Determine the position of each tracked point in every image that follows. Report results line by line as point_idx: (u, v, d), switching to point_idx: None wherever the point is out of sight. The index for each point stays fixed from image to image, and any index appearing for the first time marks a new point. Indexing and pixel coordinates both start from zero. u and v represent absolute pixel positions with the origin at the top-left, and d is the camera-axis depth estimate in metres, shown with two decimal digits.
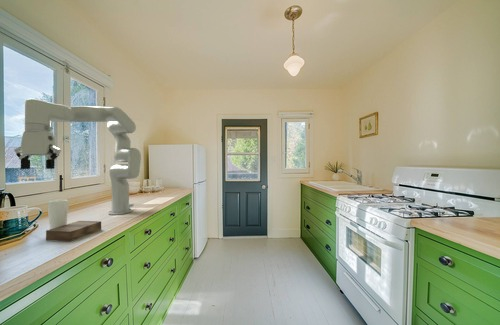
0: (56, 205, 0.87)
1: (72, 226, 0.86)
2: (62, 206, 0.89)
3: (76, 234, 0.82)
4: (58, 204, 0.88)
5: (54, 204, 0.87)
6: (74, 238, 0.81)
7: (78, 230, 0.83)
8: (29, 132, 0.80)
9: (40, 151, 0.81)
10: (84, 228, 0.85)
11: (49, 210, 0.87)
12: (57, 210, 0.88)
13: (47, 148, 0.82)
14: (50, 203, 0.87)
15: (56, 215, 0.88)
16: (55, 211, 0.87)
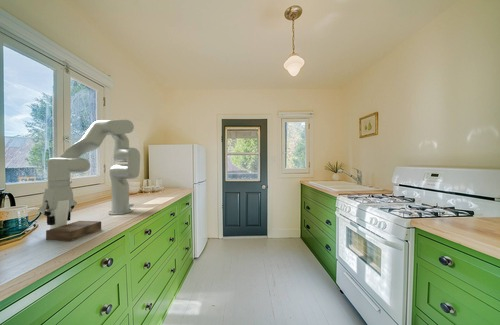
0: (57, 204, 0.88)
1: (72, 226, 0.86)
2: (63, 206, 0.89)
3: (76, 234, 0.82)
4: (59, 203, 0.88)
5: None
6: (74, 238, 0.81)
7: (78, 230, 0.83)
8: (61, 188, 0.89)
9: (69, 203, 0.93)
10: (84, 228, 0.85)
11: None
12: (58, 210, 0.88)
13: None
14: None
15: (57, 215, 0.88)
16: (56, 210, 0.88)
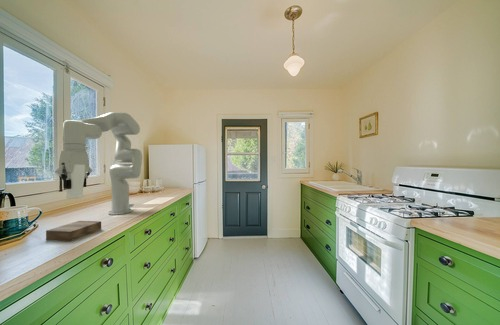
0: None
1: (72, 226, 0.86)
2: (79, 170, 0.86)
3: (76, 234, 0.82)
4: (76, 167, 0.85)
5: None
6: (74, 238, 0.81)
7: (78, 230, 0.83)
8: (77, 152, 0.86)
9: (85, 169, 0.90)
10: (84, 228, 0.85)
11: None
12: (74, 173, 0.85)
13: None
14: None
15: (73, 178, 0.85)
16: (72, 174, 0.85)
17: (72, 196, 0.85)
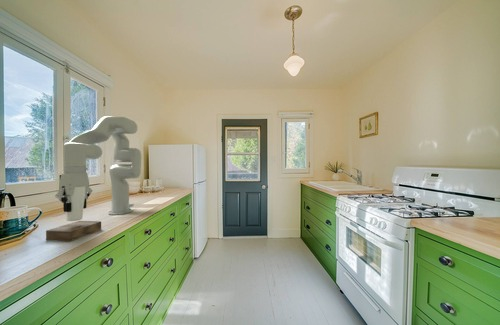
0: None
1: (72, 226, 0.86)
2: (80, 192, 0.86)
3: (76, 234, 0.82)
4: (76, 190, 0.85)
5: None
6: (74, 238, 0.81)
7: (78, 230, 0.83)
8: (77, 174, 0.86)
9: (85, 191, 0.90)
10: (84, 228, 0.85)
11: None
12: (75, 196, 0.85)
13: None
14: None
15: (73, 201, 0.85)
16: (73, 197, 0.84)
17: (72, 219, 0.85)
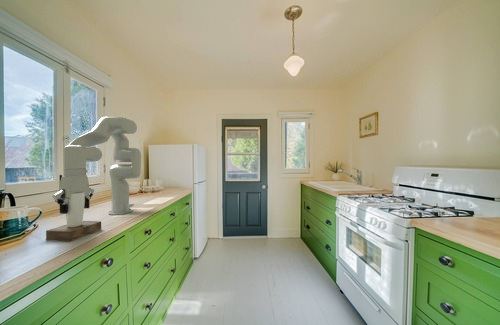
0: (73, 197, 0.84)
1: None
2: (79, 199, 0.86)
3: (76, 234, 0.82)
4: (75, 196, 0.84)
5: (71, 196, 0.84)
6: (74, 238, 0.81)
7: (78, 230, 0.83)
8: (77, 177, 0.86)
9: (85, 193, 0.90)
10: (84, 228, 0.85)
11: None
12: (74, 203, 0.84)
13: None
14: None
15: (73, 208, 0.84)
16: (72, 204, 0.84)
17: (72, 225, 0.84)
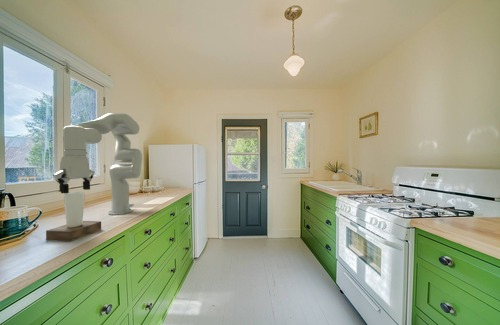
0: (73, 197, 0.84)
1: None
2: (79, 199, 0.86)
3: (76, 234, 0.82)
4: (75, 196, 0.84)
5: (71, 196, 0.84)
6: (74, 238, 0.81)
7: (78, 230, 0.83)
8: (77, 157, 0.86)
9: (86, 174, 0.90)
10: (84, 228, 0.85)
11: (66, 203, 0.83)
12: (74, 203, 0.84)
13: None
14: (67, 195, 0.83)
15: (73, 208, 0.84)
16: (72, 204, 0.84)
17: (72, 225, 0.84)
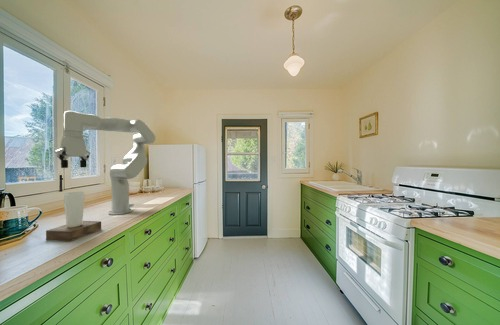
0: (72, 197, 0.84)
1: None
2: (79, 199, 0.85)
3: (76, 234, 0.82)
4: (75, 196, 0.84)
5: (71, 196, 0.84)
6: (74, 238, 0.81)
7: (78, 230, 0.83)
8: (76, 138, 1.01)
9: (83, 153, 1.05)
10: (84, 228, 0.85)
11: (66, 203, 0.83)
12: (74, 203, 0.84)
13: None
14: (67, 195, 0.83)
15: (73, 208, 0.84)
16: (72, 204, 0.84)
17: (72, 225, 0.84)
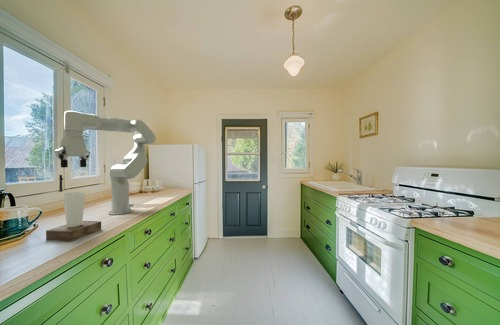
0: (73, 197, 0.84)
1: None
2: (79, 199, 0.86)
3: (76, 234, 0.82)
4: (75, 196, 0.84)
5: (71, 196, 0.84)
6: (74, 238, 0.81)
7: (78, 230, 0.83)
8: (76, 138, 1.01)
9: (82, 153, 1.05)
10: (84, 228, 0.85)
11: (66, 203, 0.83)
12: (74, 203, 0.84)
13: None
14: (67, 195, 0.83)
15: (73, 208, 0.84)
16: (72, 204, 0.84)
17: (72, 225, 0.84)
